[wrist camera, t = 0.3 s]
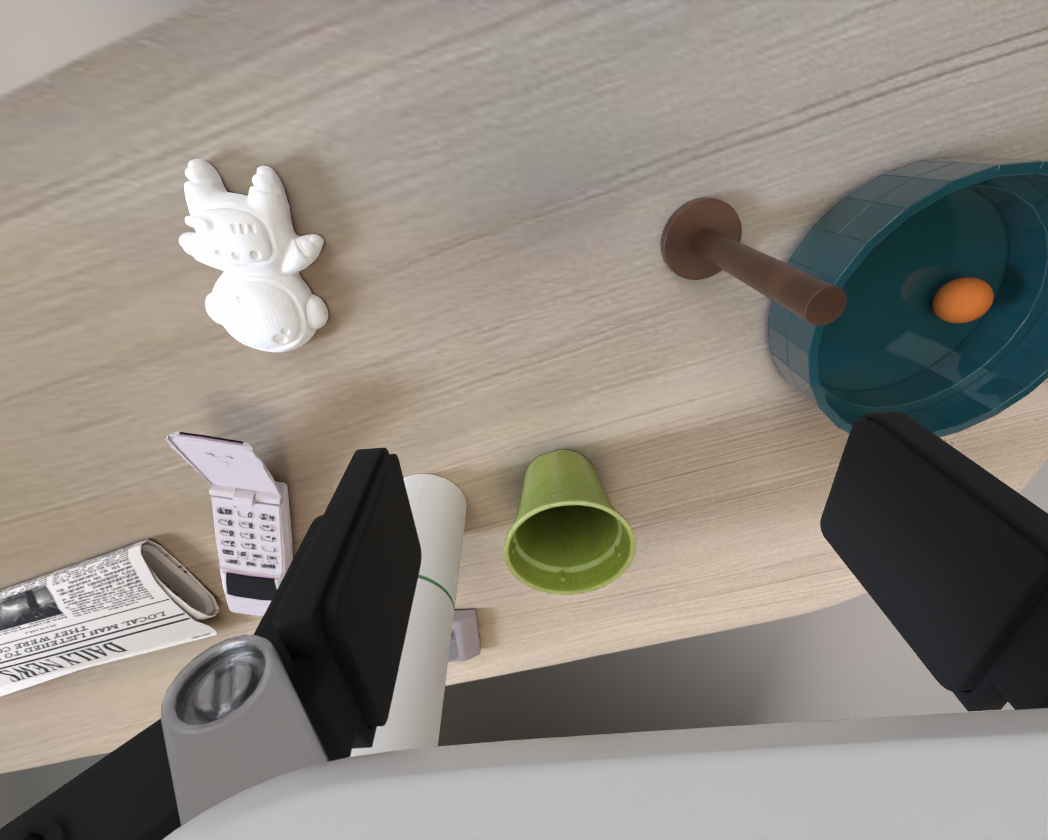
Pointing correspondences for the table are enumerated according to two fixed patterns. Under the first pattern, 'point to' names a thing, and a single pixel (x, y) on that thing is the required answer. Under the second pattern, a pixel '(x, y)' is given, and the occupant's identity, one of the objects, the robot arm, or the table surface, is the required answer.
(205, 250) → the white toy figurine
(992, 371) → the bowl
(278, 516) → the mobile phone
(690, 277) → the stirring stick
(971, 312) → the ball
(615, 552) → the plant pot
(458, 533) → the cylindrical container
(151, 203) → the table surface
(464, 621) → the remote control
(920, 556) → the robot arm
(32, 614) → the newspaper
